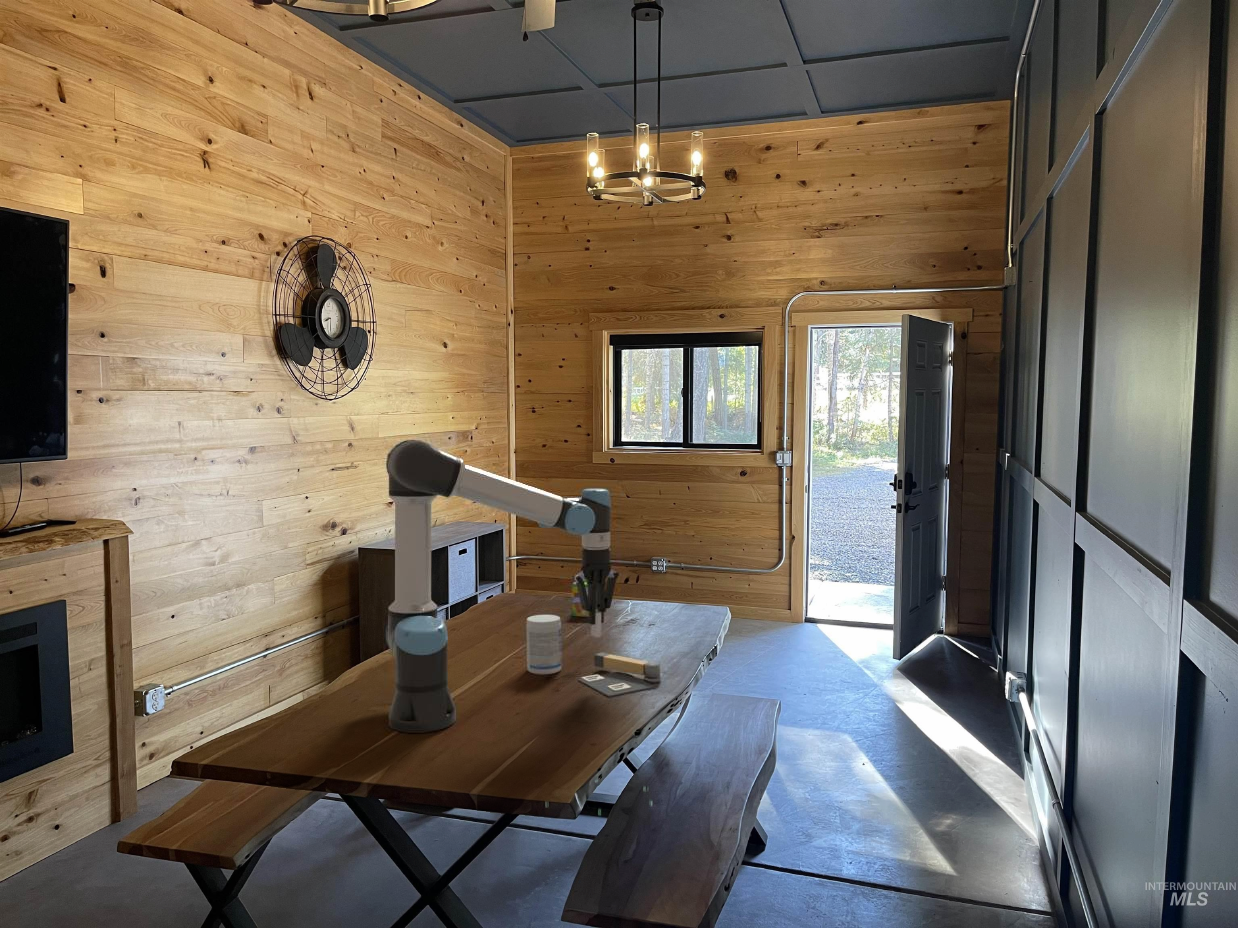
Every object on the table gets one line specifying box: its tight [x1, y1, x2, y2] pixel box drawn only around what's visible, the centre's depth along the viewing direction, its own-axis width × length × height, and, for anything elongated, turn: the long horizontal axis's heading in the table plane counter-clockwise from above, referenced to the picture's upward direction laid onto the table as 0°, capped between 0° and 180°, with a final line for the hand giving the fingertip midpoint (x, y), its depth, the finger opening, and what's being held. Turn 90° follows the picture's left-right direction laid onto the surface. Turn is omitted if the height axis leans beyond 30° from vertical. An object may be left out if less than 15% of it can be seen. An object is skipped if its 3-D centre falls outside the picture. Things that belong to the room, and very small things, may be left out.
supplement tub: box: [525, 614, 563, 676], centre depth 241 cm, size 10×10×15 cm
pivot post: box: [643, 675, 662, 685], centre depth 231 cm, size 4×4×1 cm
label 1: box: [580, 674, 605, 682], centre depth 232 cm, size 5×4×1 cm
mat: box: [577, 671, 656, 698], centre depth 229 cm, size 14×16×1 cm
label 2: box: [607, 683, 632, 691], centre depth 225 cm, size 5×4×1 cm
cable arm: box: [593, 651, 661, 678], centre depth 236 cm, size 20×4×3 cm, turn 55°
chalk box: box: [571, 578, 597, 618], centre depth 308 cm, size 9×9×15 cm
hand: (596, 635), depth 230 cm, fingers closed
